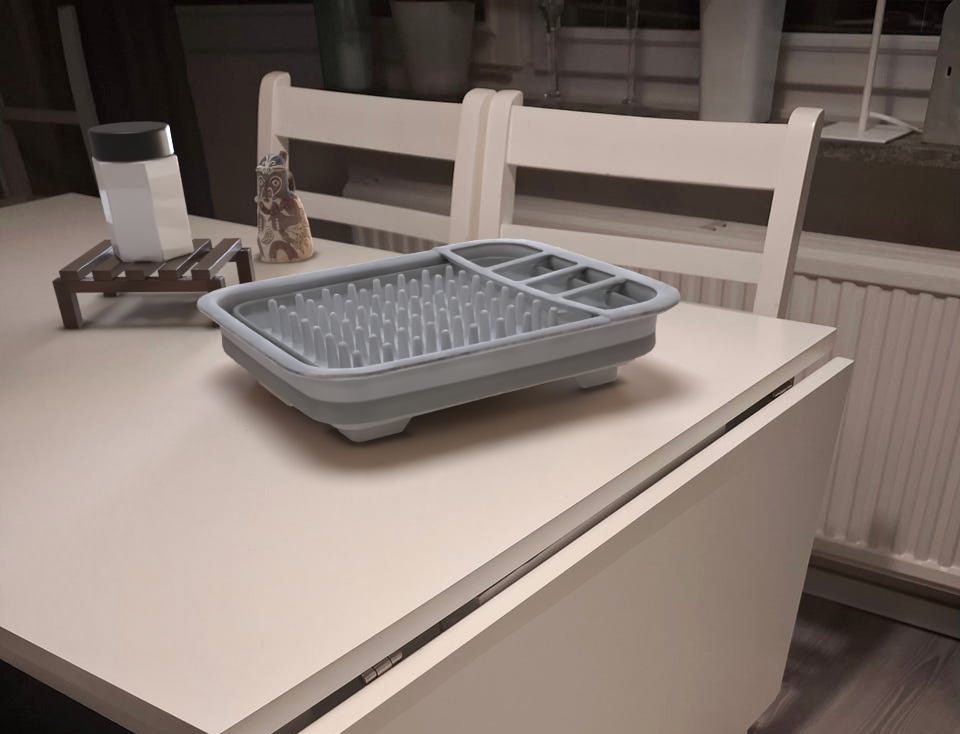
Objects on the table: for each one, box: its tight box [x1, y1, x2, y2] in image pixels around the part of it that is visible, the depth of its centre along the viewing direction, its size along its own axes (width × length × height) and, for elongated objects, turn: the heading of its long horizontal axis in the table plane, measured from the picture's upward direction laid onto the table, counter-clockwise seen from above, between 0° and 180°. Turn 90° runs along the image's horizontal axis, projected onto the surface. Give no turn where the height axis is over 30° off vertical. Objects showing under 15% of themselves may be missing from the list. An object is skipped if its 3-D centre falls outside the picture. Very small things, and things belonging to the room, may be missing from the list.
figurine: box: [254, 150, 314, 264], centre depth 128 cm, size 7×7×12 cm
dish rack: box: [196, 238, 682, 443], centre depth 92 cm, size 32×37×8 cm
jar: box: [87, 121, 194, 262], centre depth 106 cm, size 9×8×12 cm
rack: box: [52, 237, 257, 330], centre depth 112 cm, size 18×14×6 cm
